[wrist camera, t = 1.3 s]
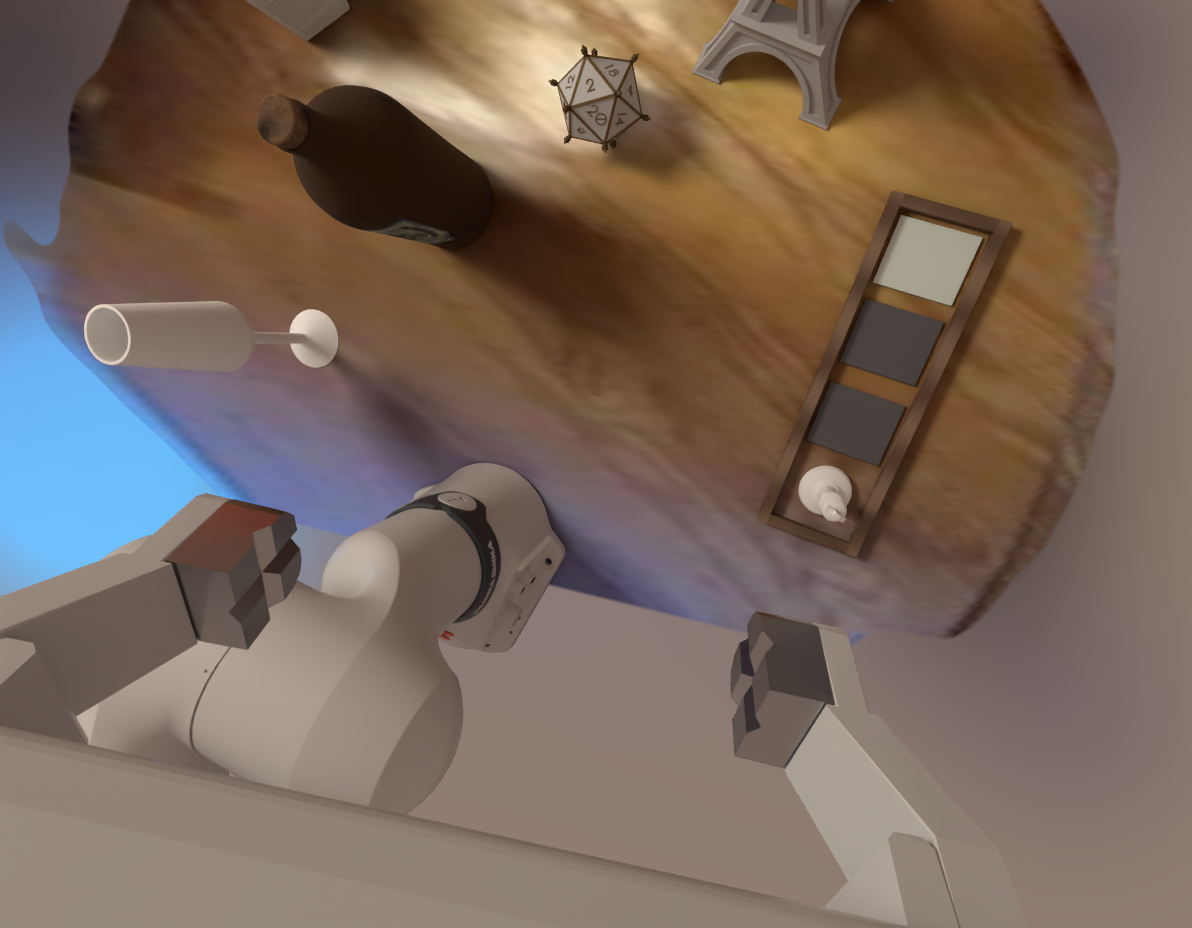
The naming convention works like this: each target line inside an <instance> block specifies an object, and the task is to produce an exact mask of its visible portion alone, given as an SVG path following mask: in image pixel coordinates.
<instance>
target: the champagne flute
mask: <svg viewBox="0 0 1192 928" xmlns="http://www.w3.org/2000/svg"><path fill="white" fill-rule="evenodd" d="M84 334H85V339H86V343H87V345H88V347H89V349H90V351H91V352H92V354H93V355H94V356H95V357H96V358H97V359H98V360H99V361H101V362H103V363H105V364H108V365H122V366H137V367H153V368H168V369H183V370H199V371H214V372H230V371H234V370H236V369H238V368H240V367H241V366H243V365H244V364H245V363H246V362H247V361H248V360H249V359H250V357H251V356H252V354H253V352H254V350H255V346H256V343H265V344H291V348H292V350H293V352H294V354H295V355H296V357H297V358H298V359H299V360H300V361H301V362H302V363H303V364H305V365H307V366H309V367H313V368H319V367H323V366H325V365H327V364H328V363H330V362H331V361H332V359H333V358H334V357H335V355H336V353H337V349H338V333H337V330H336V327H335V325H334V323H333V322H332V320H331V319H330V318H329V317H328V316H327V315H326V314H324V313H323V312H321V311H318V310H305V311H303V312H301V313H300V314H298V315H297V316H296V318H295V319H294V320H293V322H292V324H291V328H290V333H274V332H255V331H254V328H253V326H252V324H251V322H250V321H249V319H248V318H247V317H246V316H245V315H244V314H243V313H242V312H241V311H240V310H238V309H237V308H236V307H234V306H233V305H230V304H228V303H225V302H221V301H208V302H173V303H138V304H102V305H97V306H95V307H94V308H92V309H91V310H90V311H89V313H88V315H87V317H86V320H85V325H84Z"/></svg>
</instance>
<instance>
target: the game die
mask: <svg viewBox="0 0 1192 928" xmlns="http://www.w3.org/2000/svg"><path fill="white" fill-rule="evenodd" d="M581 51H582V54H583V55H584V56H583V57H582V58H581V59H580V60H579V62H578V63H577V64H576V65H575V66H574V67H573V68H572V69H571V70H570V71H569V72H568V73H567V74H566V75H565V76H564V77H563V78H562V79H561V80H560V81H559V82H557V81H556V80H554V79H553V80H550V81H549V82H550V84H551V85H552V86H557V87H558V91H559V95H560V100H561V104H562V108H563V112H564V116H565V121H566V125H567V129H568V133H569V135H568V136H566V138H564V144H565V143H569V141H571V140H570V139H571V138H576V139H581V140H585V141H590V142H594V143H599V144H603V146H602V148H603V149H602V150H603V151H604V152H605V153H606V152H607V150H608V145H607V143H609V142H610V143H611V146H612V147H613V148H615V146H616V143H615V142H616V141H614V140H615V139H616V138H617V137H618V136H619V135H621V134H622V133H623V132H624V131H626V130H627V129H628V128H629V127H631V126H632V125H633V124H634V123H636V122H637V121H638V120H639V119H640V118H642V119H643V121H644V120H645V122H646V121H648V120H651V119H650V118H649V117H648V115H646V114H645V115H643V114H642V111H641V106H640V100H639V95H638V89H637V84H636V78H635V73H634V68H633V63H634V62H636V60H638V55H639V53H637V54H633V56H632V58H631V60H624V59H617V58H610V57H603V56H597V55H598V54H597V50H596V49H595V48H593V50H592V55H589V54H587V52H588V51H587V48H586V47H585V46H584V45H582V49H581Z"/></svg>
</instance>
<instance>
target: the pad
mask: <svg viewBox="0 0 1192 928" xmlns="http://www.w3.org/2000/svg"><path fill="white" fill-rule="evenodd" d="M981 240H982V237H978V236H975V235H971V234H968V233H964V232H961V231H957V230H953V229H950V228H946V227H943V226H939V225H936V224H932V223H929V222H925V221H921V220H918V219H914V218H911V217H907V216H904V215H901V216H900V218H899V221H898V223H897V225H896V228H895V230H894V233H893V235H892V237H891V240H890V242H889V244H888V247H887V249H886V252H885V254H884V256H883V259H882V261H881V263H880V266H879V268H878V271H877V273H876V275H875V278H874V280H873V283H876V284H879V285H883V286H886V287H889V288H893V289H896V290H899V291H902V292H906V293H909V294H912V295H916V296H919V297H922V298H926V299H929V300H932V301H936V302H939V303H942V304H945V305H949V306H952V304H953V301H954V299H955V297H956V295H957V293H958V291H959V288H960V286H961V284H962V282H963V280H964V277H965V275H966V273H967V271H968V269H969V267H970V264H971V262H972V260H973V258H974V256H975V253H976V251H977V249H978V247H979V245H980V243H981Z"/></svg>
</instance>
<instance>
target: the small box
mask: <svg viewBox="0 0 1192 928" xmlns="http://www.w3.org/2000/svg"><path fill="white" fill-rule="evenodd" d="M245 1H246V2H248V3H249V4H251V5H253V6H254V7H256V8H257V9H258V10H260V11H262V12H263V13H265V14H266V15H268V16H269V17H271V18H272V19H274V20H275V21H277V22H278V23H280V24H281V25H283V26H284V27H286V28H287V29H289V30H290V31H292V32H293V33H295V34H296V35H298V36H299V37H301V38H302V39H304V40H306V41H308V40H310V39H311V38H312V37H314V36H315V35H316V34H318V33H319V32H320V31H322V30H323V29H324V28H326V27H327V26H328V25H330V24H331V23H332V22H334V21H335V20H336V19H338V18H339V17H340V16H342V15H343V14H344V13H346V12H347V11H348V10H349V9H350V7H349V4H348V2H347V0H245Z"/></svg>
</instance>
